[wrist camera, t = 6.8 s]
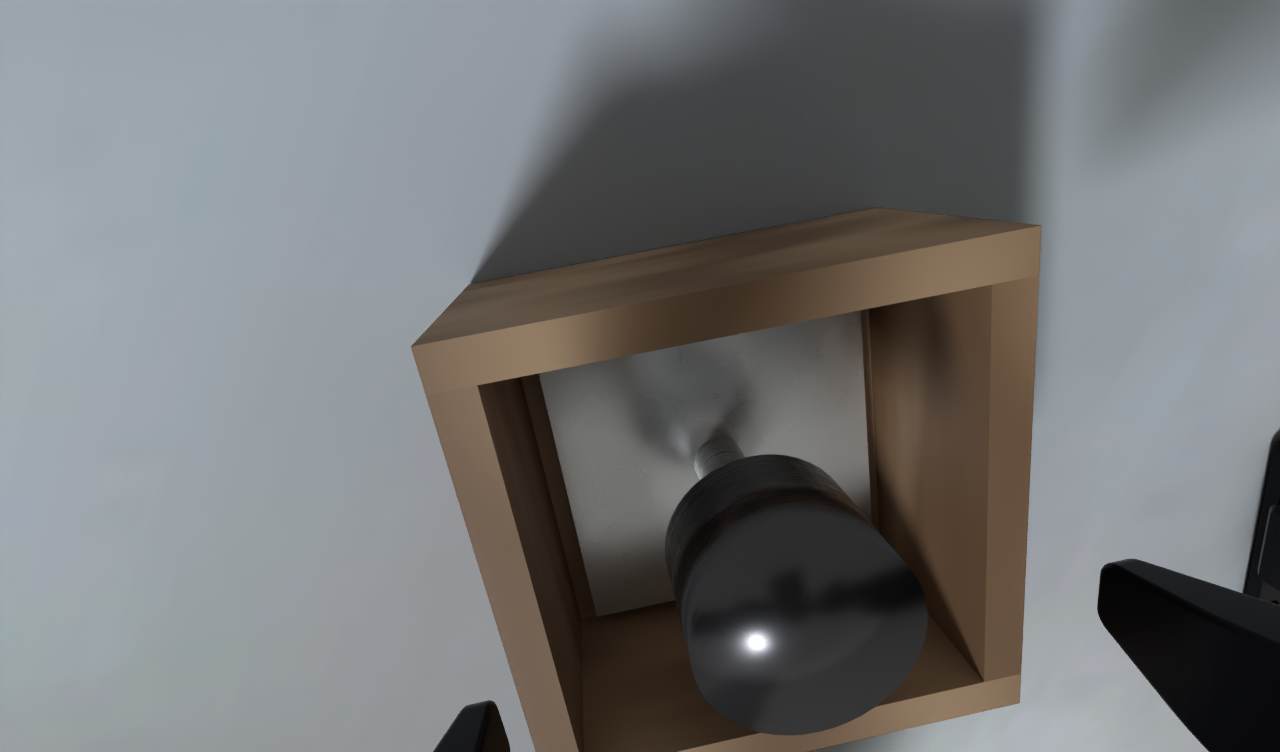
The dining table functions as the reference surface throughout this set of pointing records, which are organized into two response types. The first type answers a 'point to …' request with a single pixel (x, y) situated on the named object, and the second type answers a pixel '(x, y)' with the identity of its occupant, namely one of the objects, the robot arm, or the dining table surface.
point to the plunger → (744, 517)
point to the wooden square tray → (897, 452)
